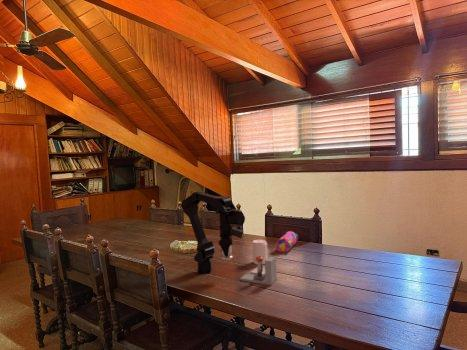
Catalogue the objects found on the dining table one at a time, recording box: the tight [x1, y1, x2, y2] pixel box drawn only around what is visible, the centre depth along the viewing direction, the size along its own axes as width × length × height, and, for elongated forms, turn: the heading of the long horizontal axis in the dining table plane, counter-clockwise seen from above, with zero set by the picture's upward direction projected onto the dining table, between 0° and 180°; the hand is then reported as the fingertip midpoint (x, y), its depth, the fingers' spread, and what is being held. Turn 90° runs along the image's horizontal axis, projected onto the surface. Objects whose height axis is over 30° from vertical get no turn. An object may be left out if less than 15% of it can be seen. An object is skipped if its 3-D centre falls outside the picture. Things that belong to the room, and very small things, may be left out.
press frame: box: [240, 256, 278, 286], centre depth 160 cm, size 16×17×11 cm
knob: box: [220, 245, 234, 261], centre depth 160 cm, size 6×6×7 cm
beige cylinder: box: [251, 239, 269, 265], centre depth 181 cm, size 8×8×12 cm
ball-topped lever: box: [254, 256, 266, 280], centre depth 155 cm, size 5×4×10 cm
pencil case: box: [275, 230, 299, 254], centre depth 206 cm, size 22×9×9 cm, turn 157°
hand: (226, 255), depth 160 cm, fingers closed on knob, 5 cm apart
